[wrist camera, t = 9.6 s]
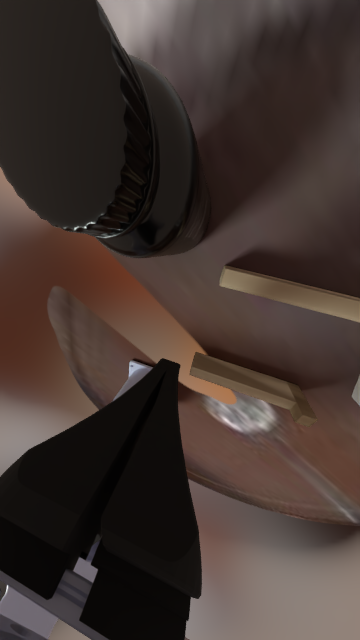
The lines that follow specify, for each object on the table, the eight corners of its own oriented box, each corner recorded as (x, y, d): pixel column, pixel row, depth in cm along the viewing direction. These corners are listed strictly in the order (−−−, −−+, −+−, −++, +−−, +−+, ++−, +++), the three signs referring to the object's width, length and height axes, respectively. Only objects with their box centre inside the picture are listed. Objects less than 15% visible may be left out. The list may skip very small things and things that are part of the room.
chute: (291, 392, 20) (309, 427, 16) (193, 359, 21) (187, 383, 17) (375, 301, 13) (440, 323, 9) (224, 265, 15) (226, 270, 11)
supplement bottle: (178, 144, 12) (-142, -652, 1) (226, 216, 13) (251, 88, 3) (131, 215, 15) (-75, 137, 5) (173, 268, 16) (89, 301, 6)
